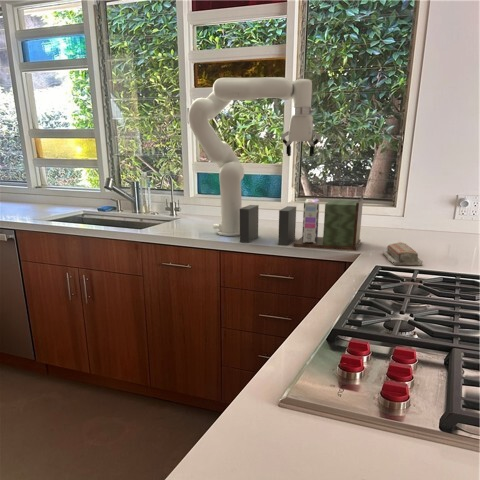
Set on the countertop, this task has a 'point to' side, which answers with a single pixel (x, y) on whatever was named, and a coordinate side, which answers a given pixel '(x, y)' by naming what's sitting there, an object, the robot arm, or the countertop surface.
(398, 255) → the butter dish
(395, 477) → the countertop surface
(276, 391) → the countertop surface
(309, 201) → the candy box
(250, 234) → the grey rectangular blocks
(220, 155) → the robot arm
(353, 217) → the green zigzag bookend
